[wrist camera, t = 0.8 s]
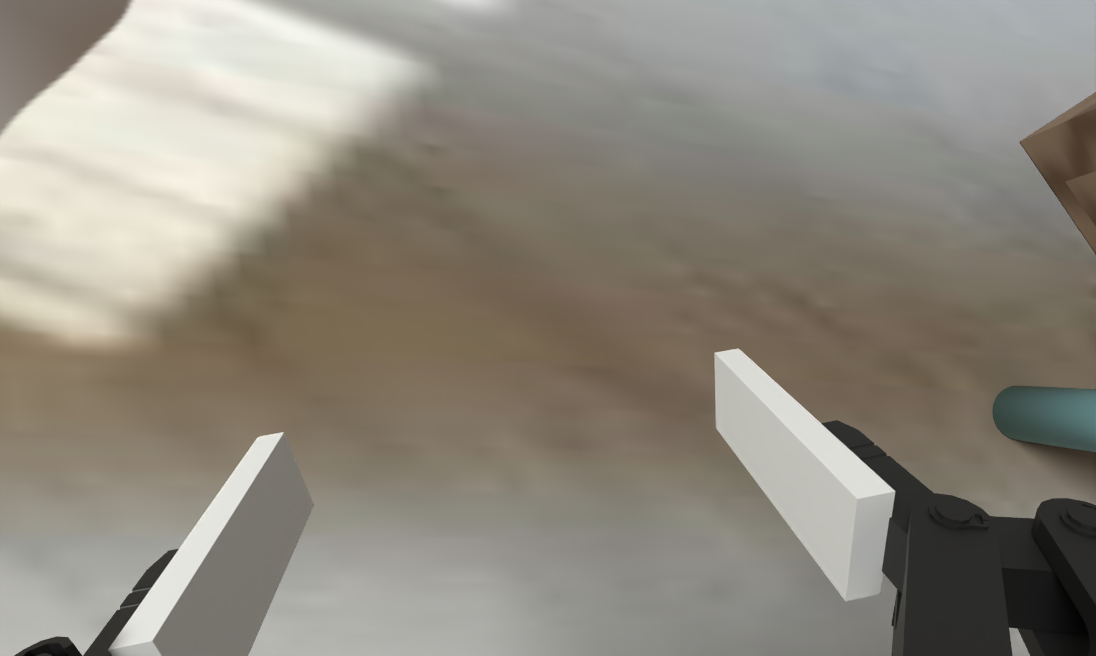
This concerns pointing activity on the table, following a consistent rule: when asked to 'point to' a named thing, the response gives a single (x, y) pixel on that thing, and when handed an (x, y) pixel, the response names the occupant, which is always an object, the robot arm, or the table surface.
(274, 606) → the table surface
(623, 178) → the table surface
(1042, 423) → the peg
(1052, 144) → the hole block
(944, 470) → the table surface
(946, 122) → the table surface
